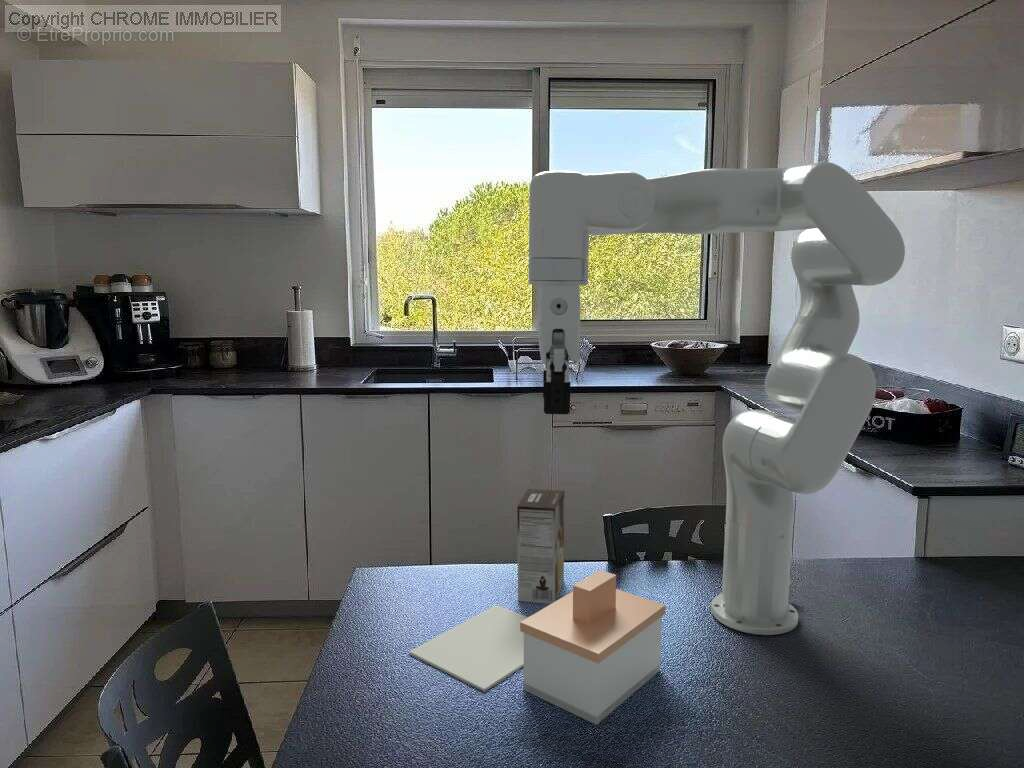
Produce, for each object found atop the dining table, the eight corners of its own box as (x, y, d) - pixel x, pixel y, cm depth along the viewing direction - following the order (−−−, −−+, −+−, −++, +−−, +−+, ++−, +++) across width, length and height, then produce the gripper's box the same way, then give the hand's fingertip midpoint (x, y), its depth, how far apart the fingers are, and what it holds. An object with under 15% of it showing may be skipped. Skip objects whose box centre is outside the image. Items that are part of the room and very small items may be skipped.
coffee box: (527, 577, 125) (527, 487, 122) (564, 580, 124) (565, 489, 121) (516, 602, 116) (516, 505, 114) (556, 605, 115) (557, 507, 112)
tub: (590, 642, 104) (591, 589, 102) (660, 670, 97) (661, 613, 95) (523, 689, 92) (523, 631, 91) (596, 724, 85) (597, 661, 84)
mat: (495, 607, 115) (495, 604, 114) (568, 636, 106) (568, 633, 106) (409, 653, 101) (409, 651, 101) (484, 691, 92) (484, 689, 92)
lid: (590, 598, 103) (591, 550, 102) (664, 624, 96) (666, 572, 95) (520, 642, 91) (520, 588, 90) (598, 675, 84) (599, 617, 83)
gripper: (593, 274, 84) (589, 420, 87) (583, 272, 101) (580, 394, 104) (527, 273, 84) (525, 419, 87) (529, 272, 101) (527, 394, 104)
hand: (555, 406), depth 95 cm, fingers open, 9 cm apart
